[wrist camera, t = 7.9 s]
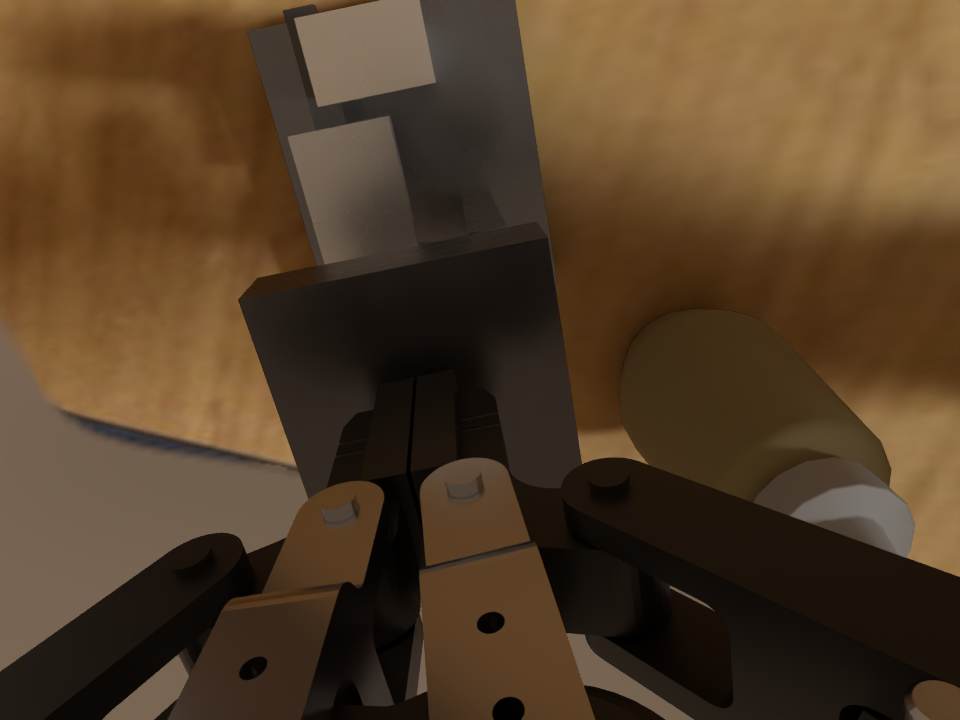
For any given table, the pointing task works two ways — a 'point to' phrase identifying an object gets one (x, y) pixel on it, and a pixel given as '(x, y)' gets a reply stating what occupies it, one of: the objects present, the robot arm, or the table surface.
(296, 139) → the dark grey blocky piece
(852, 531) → the squeeze bottle
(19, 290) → the table surface
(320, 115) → the peak pointer
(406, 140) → the frame
